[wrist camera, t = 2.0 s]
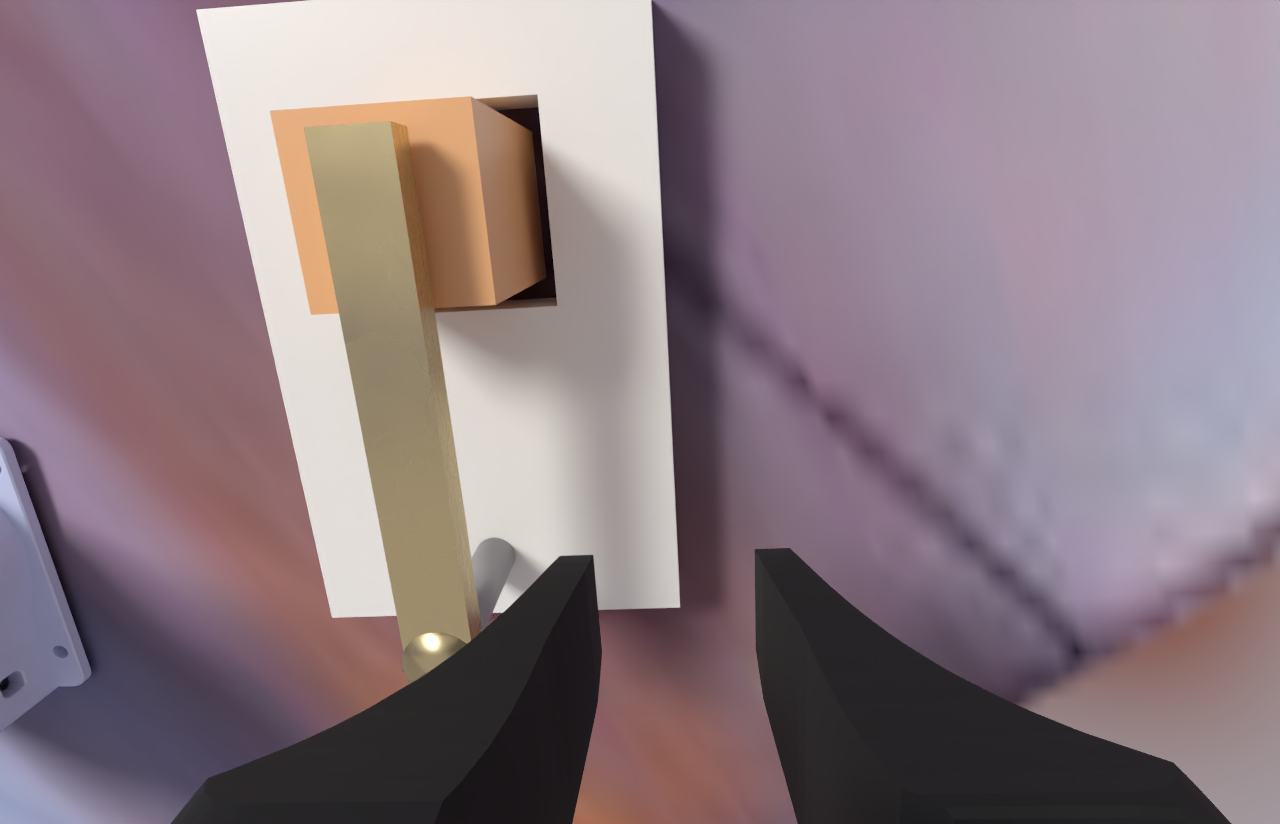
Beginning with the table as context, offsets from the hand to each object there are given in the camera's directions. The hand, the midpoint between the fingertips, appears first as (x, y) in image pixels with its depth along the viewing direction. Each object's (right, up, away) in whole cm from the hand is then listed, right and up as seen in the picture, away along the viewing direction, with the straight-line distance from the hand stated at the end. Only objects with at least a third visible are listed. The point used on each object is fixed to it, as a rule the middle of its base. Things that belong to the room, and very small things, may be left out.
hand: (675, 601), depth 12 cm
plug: (-6, +9, +7) cm, 13 cm away
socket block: (-5, +6, +8) cm, 11 cm away
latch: (-6, +3, +3) cm, 7 cm away
